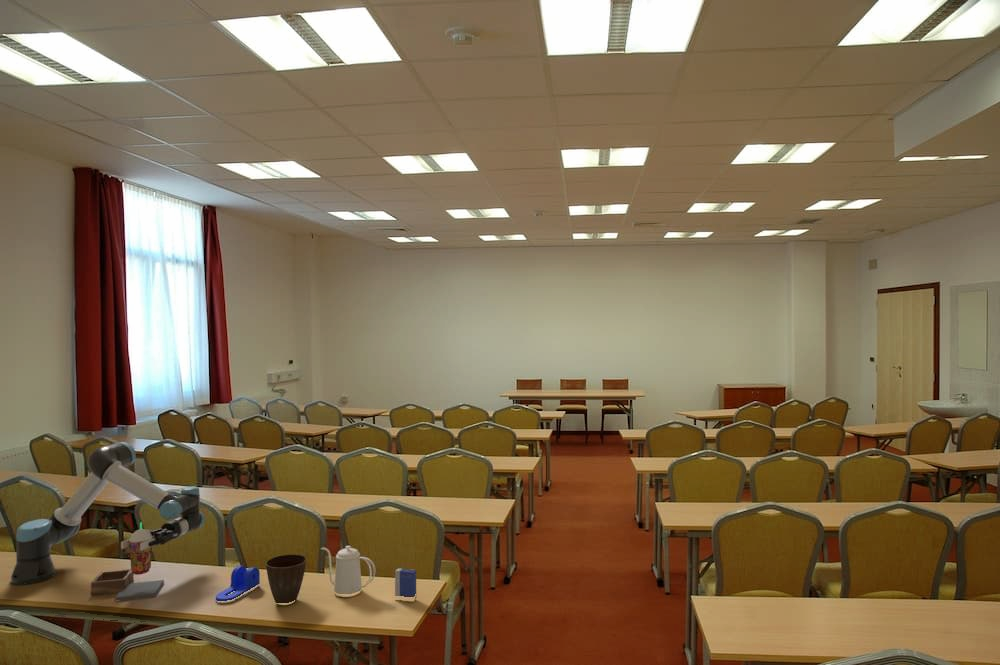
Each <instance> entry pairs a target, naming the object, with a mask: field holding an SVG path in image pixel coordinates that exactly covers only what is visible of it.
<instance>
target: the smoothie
mask: <svg viewBox="0 0 1000 665" xmlns="http://www.w3.org/2000/svg"><path fill="white" fill-rule="evenodd" d="M148 530H149V529H145V528H143V522H139V529H137V530H135V531H134V532H133V533H132V534H131V535H130V538H128V539H129V558H130V569H131V571H132V572H133V574H134V575H136V576H137V575H139V576H140V575H144V574H147V573H148V572H150V569H151V567H152V555H153V554H152V553H153V546H152V547H149V548H147V549H144V550H142V551H141V550H140V544H141V543H143V542H146V541H148V540H150V539H153V537H154V535H153V536H152V535H151V533H150V532H149V531H148Z"/></svg>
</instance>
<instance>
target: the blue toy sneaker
mask: <svg viewBox="0 0 1000 665" xmlns="http://www.w3.org/2000/svg"><path fill="white" fill-rule="evenodd" d="M260 578H261V576H260V570H259V568H258V567H251V566H250V567H248V569H247V568H246V566H244V565H237V566H234V568H233V570H232V571H231V575H230V586H229V587H227V588H226V589H224V590H222V591H220V592H218V593H217V594H215V601H216V600H217V601H227V600H232V599H234V598H236V597H238V596H240V595H241V594H243V593H244V592H246V591H248V590H250V589H251V588H253V587H255V586H256V585H258V584H260ZM233 591H235V592H233ZM231 592H233V593H232V594H230V593H231ZM228 594H230V595H228Z"/></svg>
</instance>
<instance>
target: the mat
mask: <svg viewBox="0 0 1000 665" xmlns="http://www.w3.org/2000/svg"><path fill="white" fill-rule="evenodd" d="M164 584H165V580H164V579H160V580H148V581H141V582H140V581H139V582H138V581H137V582H132V583H129V584H128V585H127V586H126V588H122V589H121V591H120V592H119V593H116V596H115V597H114V602H117V601H116V600H123V601H129V600H130V601H131V600H139V599H140V600H141V599H147V598H156V596H157V595H158V594H159V592H160V591H161V589H162V587H163V586H164Z"/></svg>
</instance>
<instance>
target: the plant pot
mask: <svg viewBox="0 0 1000 665" xmlns="http://www.w3.org/2000/svg"><path fill="white" fill-rule="evenodd" d="M306 564H307V556H304V555H302V554H295V553H294V554H293V553H292V554H282V555H277V556H274V557H272V558H269V559H268V560H266V562H265V568H266V574H267V578H268V584H269V588H270V592H271V595H272V597H273V600H274V602H276V603H289V602H292V601H294V600H296V601H297V599H298V596H299V594H300V590H301V588H302V584H303V581H304V576H305V572H306V571H305V570H306ZM276 603H275V604H276Z"/></svg>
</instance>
